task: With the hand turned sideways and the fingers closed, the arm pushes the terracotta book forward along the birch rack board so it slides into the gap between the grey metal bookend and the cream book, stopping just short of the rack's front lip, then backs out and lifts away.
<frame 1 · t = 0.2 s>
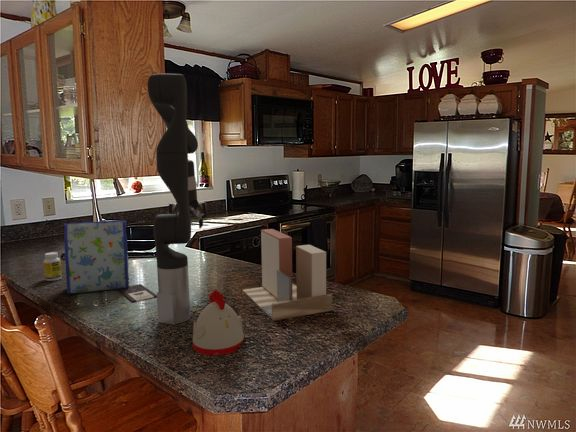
hand: (189, 228, 167), 22 cm above the worktop, tool pointing down, fingers open, 8 cm apart
cream book: (310, 304, 143), resting on rack
kitchen timer: (218, 344, 117), on the worktop
terracotta book: (276, 293, 155), point 1 cm above the worktop, touching rack
chocolate bar: (136, 295, 160), on the worktop
pill bottle: (53, 279, 179), on the worktop
bookend: (284, 310, 138), resting on rack
rack: (284, 302, 148), on the worktop
lunch bag: (100, 287, 168), on the worktop
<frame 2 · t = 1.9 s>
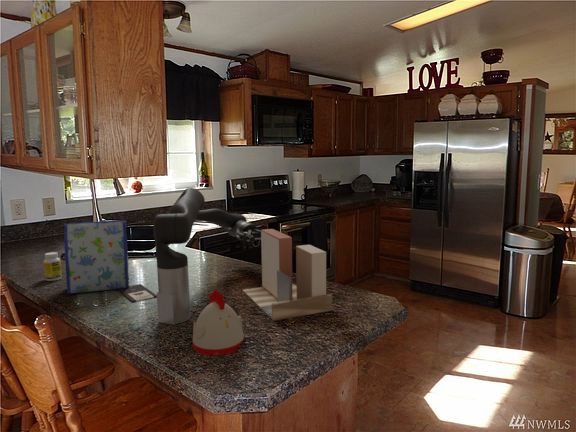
hand: (260, 238, 167), 18 cm above the worktop, tool horizontal, fingers open, 5 cm apart
nothing on the worktop moved.
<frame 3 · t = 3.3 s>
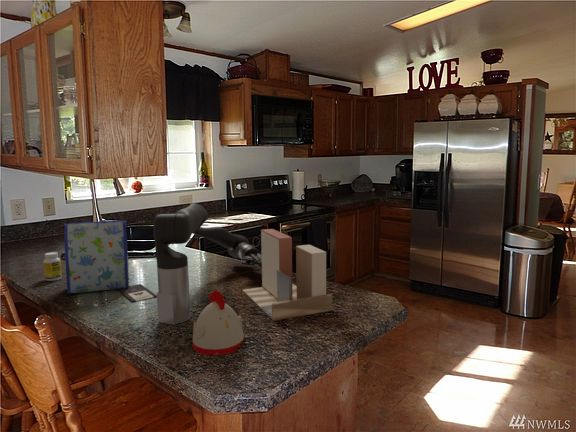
hand: (263, 264, 166), 8 cm above the worktop, tool horizontal, fingers closed
nothing on the worktop moved.
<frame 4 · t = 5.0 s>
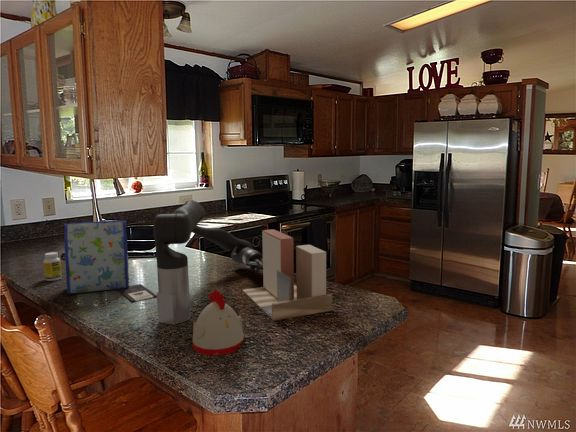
hand: (268, 270, 161), 8 cm above the worktop, tool horizontal, fingers closed
terracotta book: (278, 294, 153), point 1 cm above the worktop
everything else where it was.
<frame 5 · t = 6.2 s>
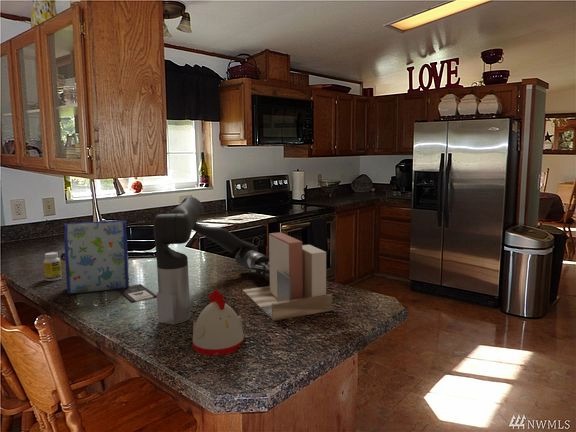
hand: (275, 274, 154), 8 cm above the worktop, tool horizontal, fingers closed
terracotta book: (285, 300, 147), point 1 cm above the worktop, touching gripper
everything else where it was.
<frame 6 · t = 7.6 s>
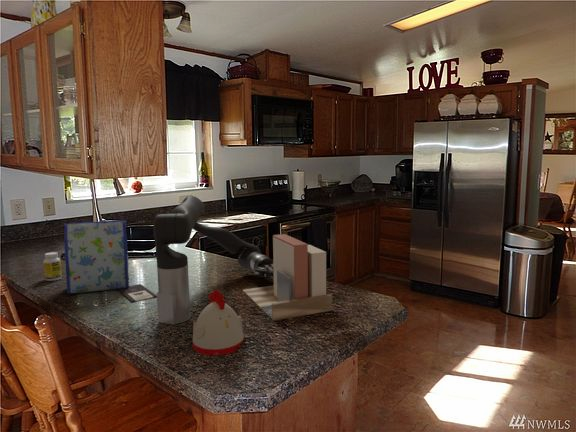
hand: (279, 276, 151), 8 cm above the worktop, tool horizontal, fingers closed
terracotta book: (290, 303, 144), point 1 cm above the worktop, touching gripper, rack
everything else where it was.
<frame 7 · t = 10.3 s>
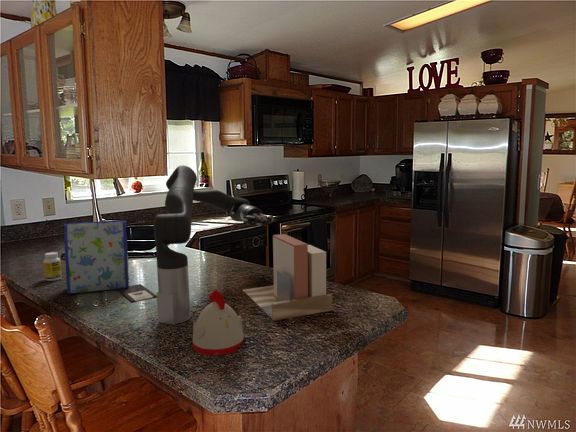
hand: (266, 223, 159), 25 cm above the worktop, tool horizontal, fingers closed
terracotta book: (290, 303, 144), point 1 cm above the worktop, touching rack
everything else where it was.
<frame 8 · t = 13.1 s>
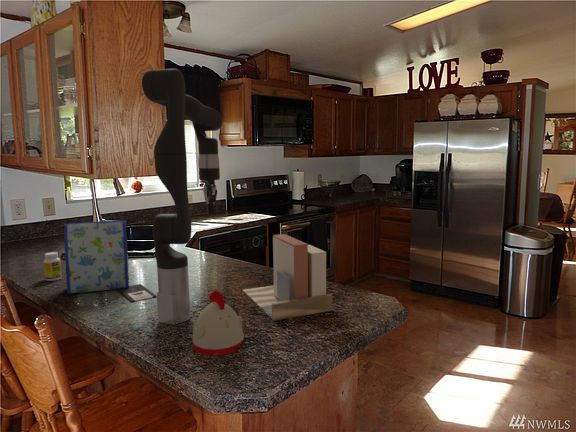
hand: (210, 213, 160), 29 cm above the worktop, tool pointing down, fingers closed
nothing on the worktop moved.
at the end: terracotta book 1.0 cm from the target spot, point 1.0 cm above the worktop; terracotta book tilted 0°; terracotta book moved 11.7 cm from its start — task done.
